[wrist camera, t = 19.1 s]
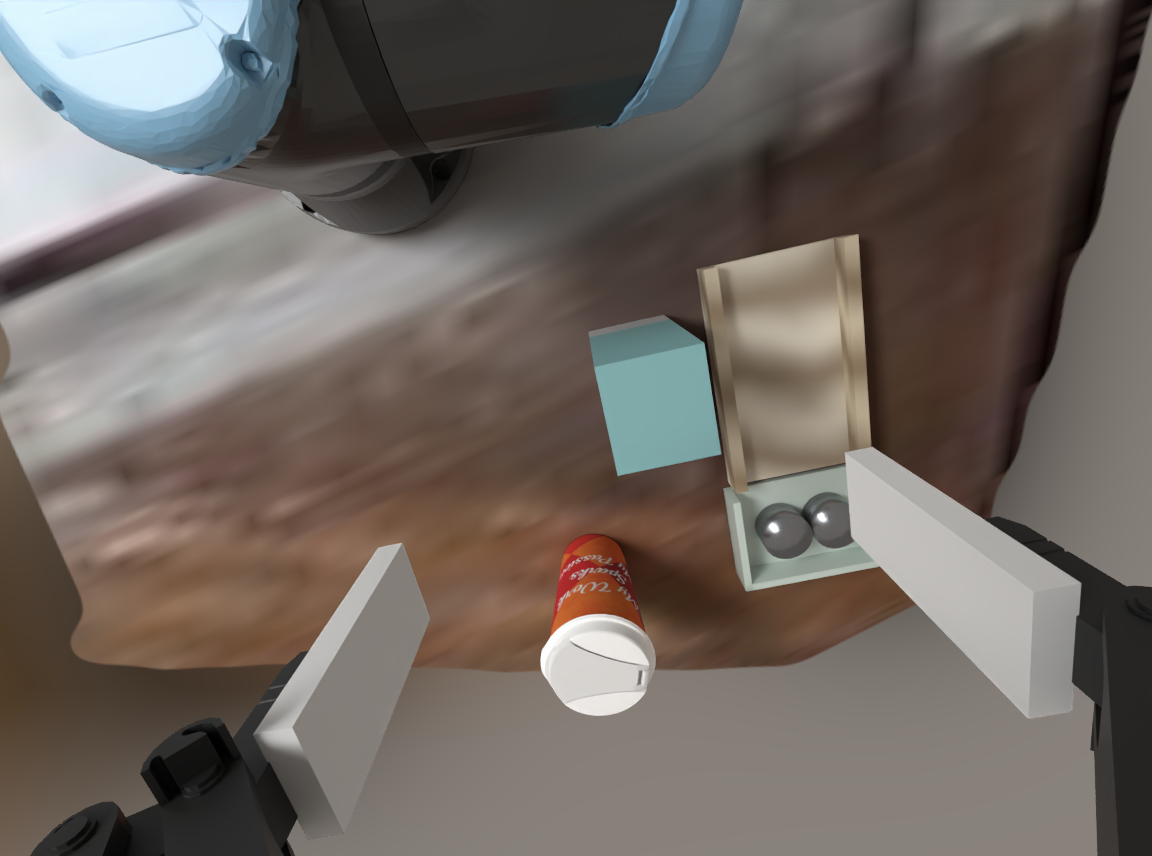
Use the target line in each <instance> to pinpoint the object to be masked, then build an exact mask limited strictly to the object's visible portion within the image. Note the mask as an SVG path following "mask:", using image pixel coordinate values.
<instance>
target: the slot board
mask: <svg viewBox="0 0 1152 856" xmlns="http://www.w3.org/2000/svg"><path fill="white" fill-rule="evenodd" d="M696 270H697V277H698V284H699V290H700V297H701V304H702V310H703V317H704V324H705V330H706V337H707V343H708V350H709V357H710V363H711V370H712V377H713V383H714V390H715V397H716V403H717V410H718V417H719V423H720V430H721V437H722V443H723V450H724V457H725V463H726V470H727V477H728V482H729V484H730V485H731V487H732V488H733V490H734V491H735V493H736V494H738V493H743V492H748V485H747V483H748V482H753V481H757V480H762V479H767V478H772V477H777V476H782V475H787V474H792V473H797V472H802V471H807V470H812V469H817V468H822V467H827V466H831V465H836V464H841V463H846V461H845V452H850V451H854V450H859V449H864V448H869V447H871V434H870V418H869V401H868V385H867V368H866V352H865V335H864V319H863V302H862V286H861V270H860V253H859V237H858V234H857V235H842V236H838V237H834V238H829V239H825V240H821V241H816V242H812V243H808V244H803V245H799V246H795V247H790V248H786V249H782V250H777V251H773V252H769V253H764V254H760V255H756V256H751V257H747V258H743V259H738V260H734V261H730V262H725V263H721V264H717V265H712V266H708V267H703V268H699V269H696Z"/></svg>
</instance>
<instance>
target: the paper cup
mask: <svg viewBox="0 0 1152 856" xmlns="http://www.w3.org/2000/svg"><path fill="white" fill-rule="evenodd" d="M655 662H656V657H655V651H654V648H653V645H652V642H651V641H650V639H649V637H648V636H647V635H646V633H645V629H644V625H643V621H642V618H641V614H640V611H639V607H638V604H637V601H636V597H635V593H634V590H633V586H632V582H631V579H630V575H629V572H628V568H627V564H626V561H625V558H624V555H623V553H622V550H621V549H620V547H619V546H618V544H617V543H616V542H615V541H613V540H612V539H610V538H609V537H606V536H604V535H599V534H588V535H584V536H581V537H579V538H577V539H575V540H574V541H573V542H571V543H570V544H569V546H568V547H567V549H566V550H565V553H564V556H563V560H562V565H561V570H560V576H559V582H558V589H557V596H556V602H555V609H554V616H553V622H552V629H551V636H550V639H549V640H548V642H547V644H546V645H545V647H544V648H543V649H542V653H541V669H542V673H543V674H544V676H545V677H546V679H547V680H548V682H549V683H550V685H551V686H552V688H553V689H554V692H555V693H556V694H557V696H558V697H559V698H560V699H561V701H562V702H563V703H564V704H565V705H566V706H568V707H569V708H571V709H573V710H575V711H577V712H580V713H583V714H587V715H595V716H601V715H611V714H615V713H619V712H621V711H624V710H626V709H628V708H629V707H631V706H632V705H634V704H635V703H636V702H638V701H639V700H640V699H641V697H642V696H643V695H644V693H645V692H646V690H647V684H648V683H649V681H650V679H651V677H652V675H653V672H654V669H655Z"/></svg>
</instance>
